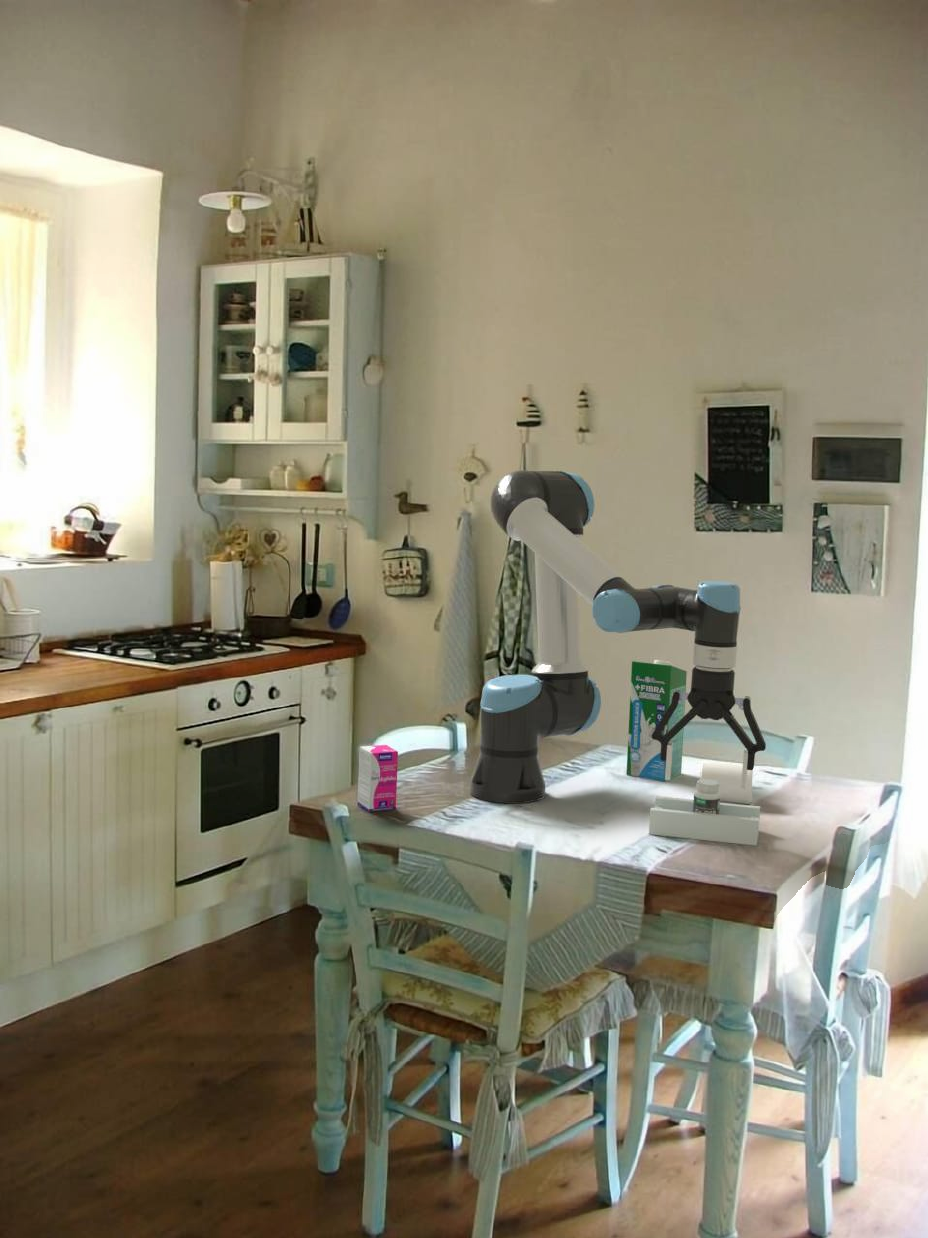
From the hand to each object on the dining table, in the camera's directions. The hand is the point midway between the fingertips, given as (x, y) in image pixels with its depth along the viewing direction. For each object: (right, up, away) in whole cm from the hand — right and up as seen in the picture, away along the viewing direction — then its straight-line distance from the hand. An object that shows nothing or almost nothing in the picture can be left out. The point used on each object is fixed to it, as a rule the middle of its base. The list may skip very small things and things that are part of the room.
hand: (705, 782), depth 225 cm
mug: (+9, -7, +25) cm, 27 cm away
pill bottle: (0, -8, +1) cm, 8 cm away
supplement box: (-61, -6, +10) cm, 62 cm away
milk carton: (-3, -4, +43) cm, 43 cm away
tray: (0, -9, +1) cm, 9 cm away
